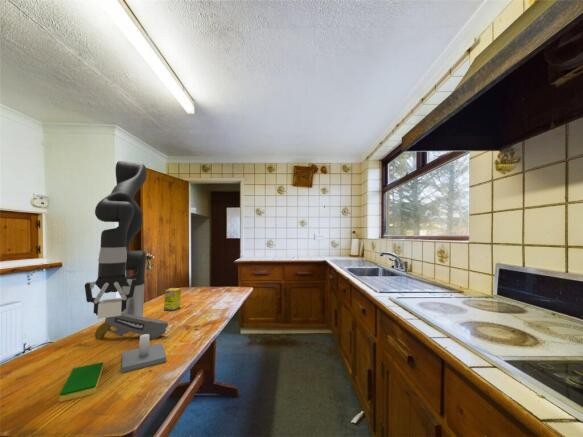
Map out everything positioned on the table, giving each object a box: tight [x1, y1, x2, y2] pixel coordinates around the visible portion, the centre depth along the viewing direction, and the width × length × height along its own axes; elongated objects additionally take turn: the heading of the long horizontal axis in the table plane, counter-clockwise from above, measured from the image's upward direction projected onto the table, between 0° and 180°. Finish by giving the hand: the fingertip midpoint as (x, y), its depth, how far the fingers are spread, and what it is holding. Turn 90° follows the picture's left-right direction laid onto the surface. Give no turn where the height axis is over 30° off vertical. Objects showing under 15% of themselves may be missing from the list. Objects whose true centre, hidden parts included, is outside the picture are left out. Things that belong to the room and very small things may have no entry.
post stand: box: [121, 334, 167, 374], centre depth 83 cm, size 12×12×8 cm
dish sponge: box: [59, 361, 104, 403], centre depth 69 cm, size 7×14×2 cm, turn 30°
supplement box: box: [163, 287, 182, 312], centre depth 137 cm, size 6×6×11 cm
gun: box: [94, 313, 169, 340], centre depth 100 cm, size 3×25×15 cm, turn 95°
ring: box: [97, 297, 122, 319], centre depth 81 cm, size 6×6×4 cm
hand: (110, 312), depth 81 cm, fingers closed on ring, 6 cm apart
